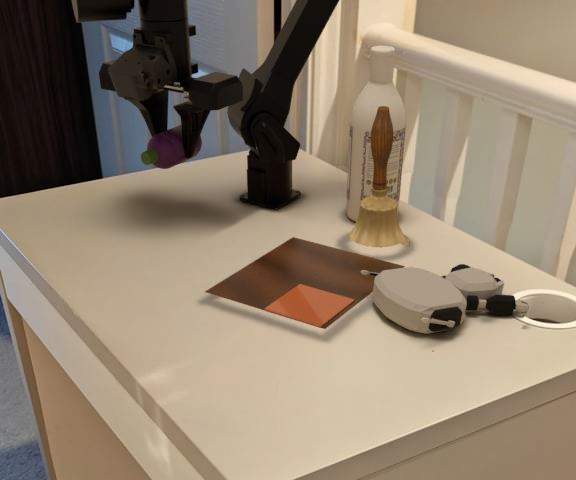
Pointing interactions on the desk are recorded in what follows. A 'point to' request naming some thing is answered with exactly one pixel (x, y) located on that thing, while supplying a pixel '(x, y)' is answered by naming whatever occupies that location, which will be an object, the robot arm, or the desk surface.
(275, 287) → the board
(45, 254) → the desk surface
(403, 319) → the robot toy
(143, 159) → the eggplant
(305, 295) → the corner square
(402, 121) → the bath foam
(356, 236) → the hand bell
